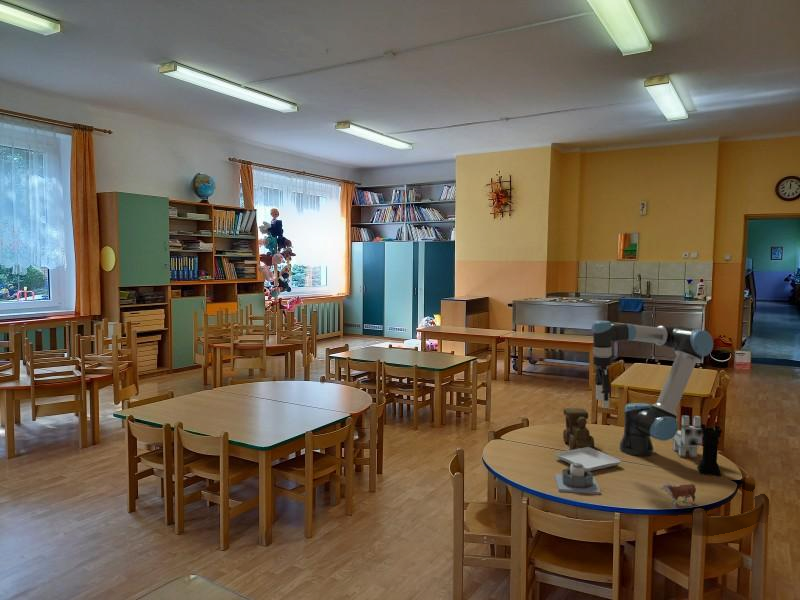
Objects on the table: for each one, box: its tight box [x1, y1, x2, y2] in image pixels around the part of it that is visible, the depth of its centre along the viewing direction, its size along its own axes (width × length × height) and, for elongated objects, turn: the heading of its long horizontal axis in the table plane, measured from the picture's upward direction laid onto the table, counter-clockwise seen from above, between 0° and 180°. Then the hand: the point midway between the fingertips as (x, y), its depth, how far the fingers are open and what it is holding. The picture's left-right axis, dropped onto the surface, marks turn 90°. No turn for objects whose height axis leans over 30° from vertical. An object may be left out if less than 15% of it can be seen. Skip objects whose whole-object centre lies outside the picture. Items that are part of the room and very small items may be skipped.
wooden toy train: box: [562, 407, 595, 450], centre depth 284 cm, size 20×11×17 cm, turn 179°
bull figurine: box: [660, 481, 697, 506], centre depth 219 cm, size 4×13×8 cm, turn 95°
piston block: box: [554, 463, 602, 495], centre depth 236 cm, size 16×16×8 cm
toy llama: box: [672, 414, 703, 459], centre depth 273 cm, size 8×18×20 cm, turn 173°
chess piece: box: [696, 423, 723, 477], centre depth 251 cm, size 8×8×20 cm
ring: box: [561, 467, 594, 489], centre depth 236 cm, size 12×12×4 cm
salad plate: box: [554, 447, 622, 472], centre depth 261 cm, size 21×21×3 cm
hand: (602, 403), depth 256 cm, fingers open, 13 cm apart
